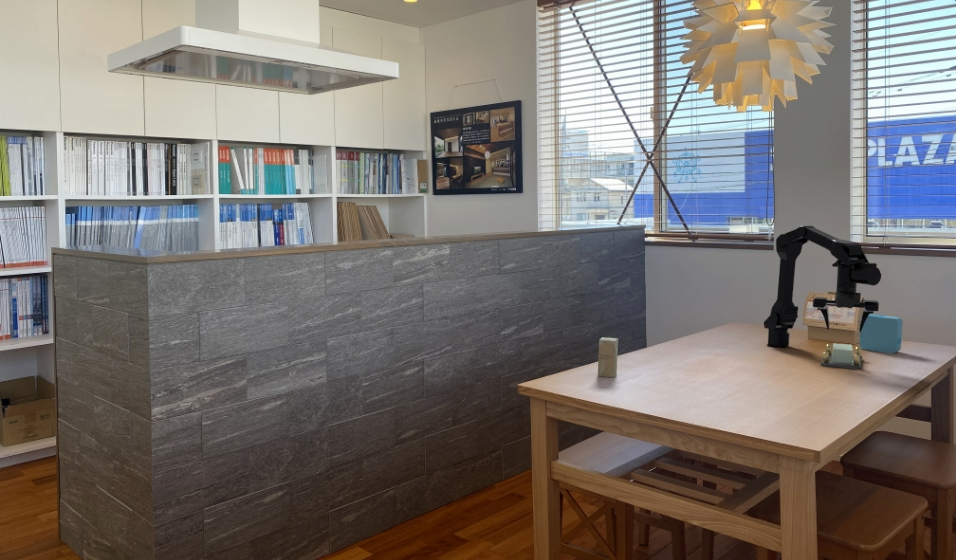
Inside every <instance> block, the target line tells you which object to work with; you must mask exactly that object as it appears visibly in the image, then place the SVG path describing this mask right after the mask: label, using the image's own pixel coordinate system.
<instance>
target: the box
mask: <svg viewBox="0 0 956 560" xmlns="http://www.w3.org/2000/svg"><path fill="white" fill-rule="evenodd" d="M618 348H619V338H615V337H604V336H602V337H601V338H599V341H598V357H597V358H598V363H597V364H598V365H597V376H598V377H604V378H615V377H616V376H617V374H618V352H619V351H618Z"/></svg>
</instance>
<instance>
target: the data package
mask: <svg viewBox="0 0 956 560" xmlns="http://www.w3.org/2000/svg"><path fill="white" fill-rule="evenodd" d="M861 319H862V317H861V318H860V320H861ZM903 324H904V323H903V320H902V318H901V317H899V316H891V315H882V314H875V313H873V314H869V316H868V317H867V319H866V321H865V323H864V326H863V328H862V330H861V332H859V343H858V344H859V347H860V348H861V350H865V351H871V352H877V351H878V352H880V353H884V352H885V353H886V354H896V353H897V352H899V351H901V349H902V335H903V334H902V333H903ZM885 353H884V354H885Z"/></svg>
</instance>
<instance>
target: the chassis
mask: <svg viewBox="0 0 956 560" xmlns="http://www.w3.org/2000/svg"><path fill="white" fill-rule="evenodd" d="M832 351H833V344H826V347H825V351H823V353H822V355H823V356H822V361H821V362H820V365H821V366H822V367H831V368H839V369H840V368H842V369H851V370H859V371H860V370H861V367H862V361H863V356H862V348H861V347H860V346H856V347H855V354H853V357H852V363H843V362H833V357H832V354H833V352H832Z"/></svg>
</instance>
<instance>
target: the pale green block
mask: <svg viewBox="0 0 956 560" xmlns="http://www.w3.org/2000/svg"><path fill="white" fill-rule="evenodd" d="M832 353H833V354H832V357H833V362H843V363H852V357H853V355H854V354H853V353H854V349H853V345H852V344H846V343H832Z"/></svg>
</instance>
